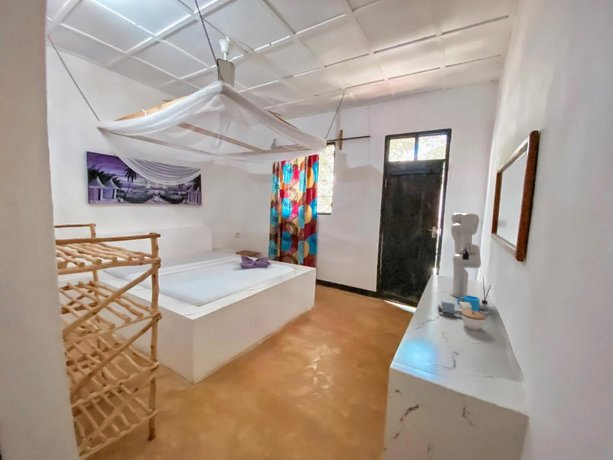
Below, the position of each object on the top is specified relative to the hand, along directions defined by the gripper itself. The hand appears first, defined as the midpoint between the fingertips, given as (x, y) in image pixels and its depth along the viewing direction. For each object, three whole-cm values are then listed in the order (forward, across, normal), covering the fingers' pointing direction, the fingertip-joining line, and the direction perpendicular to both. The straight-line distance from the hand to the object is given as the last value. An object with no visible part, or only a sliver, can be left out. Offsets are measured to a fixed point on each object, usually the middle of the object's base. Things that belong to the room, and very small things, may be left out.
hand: (465, 259), depth 161 cm
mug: (+32, +4, +2) cm, 33 cm away
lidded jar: (+32, +33, -1) cm, 46 cm away
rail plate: (+32, +16, -7) cm, 37 cm away
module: (+31, +16, -11) cm, 36 cm away
